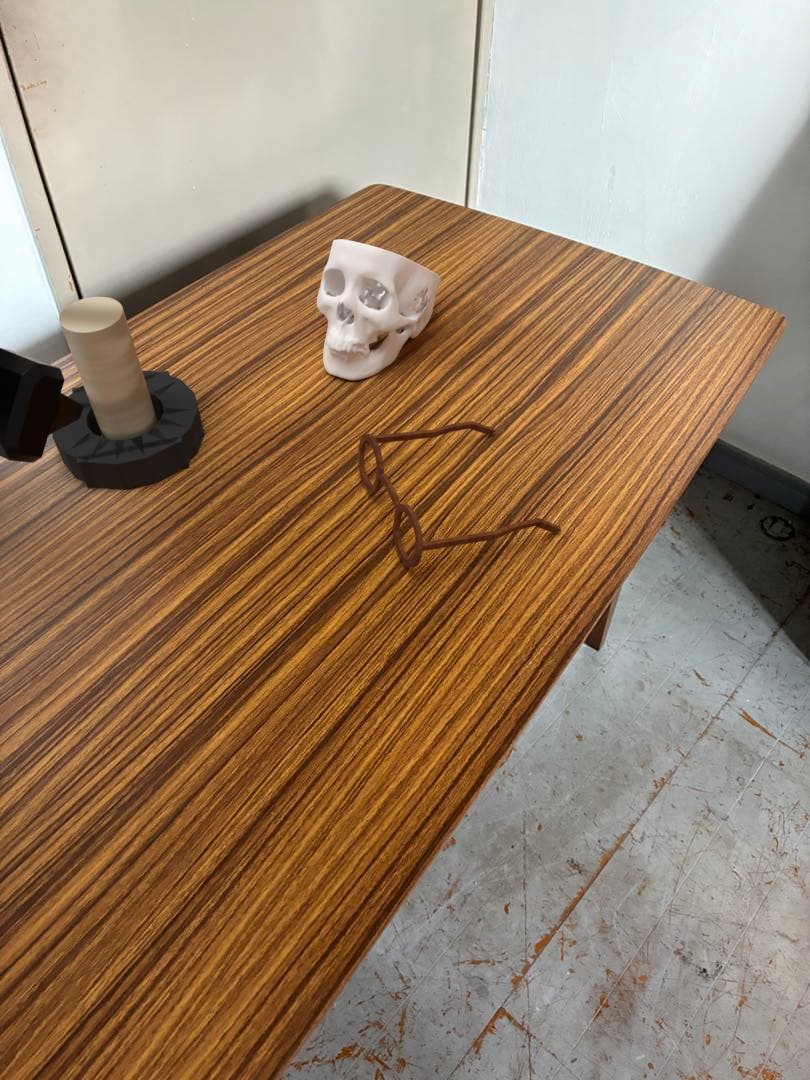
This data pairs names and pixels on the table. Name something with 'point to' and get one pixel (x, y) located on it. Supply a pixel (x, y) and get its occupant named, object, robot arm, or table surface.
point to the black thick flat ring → (134, 439)
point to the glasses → (408, 509)
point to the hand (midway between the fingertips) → (34, 392)
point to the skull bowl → (371, 306)
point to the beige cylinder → (108, 366)
